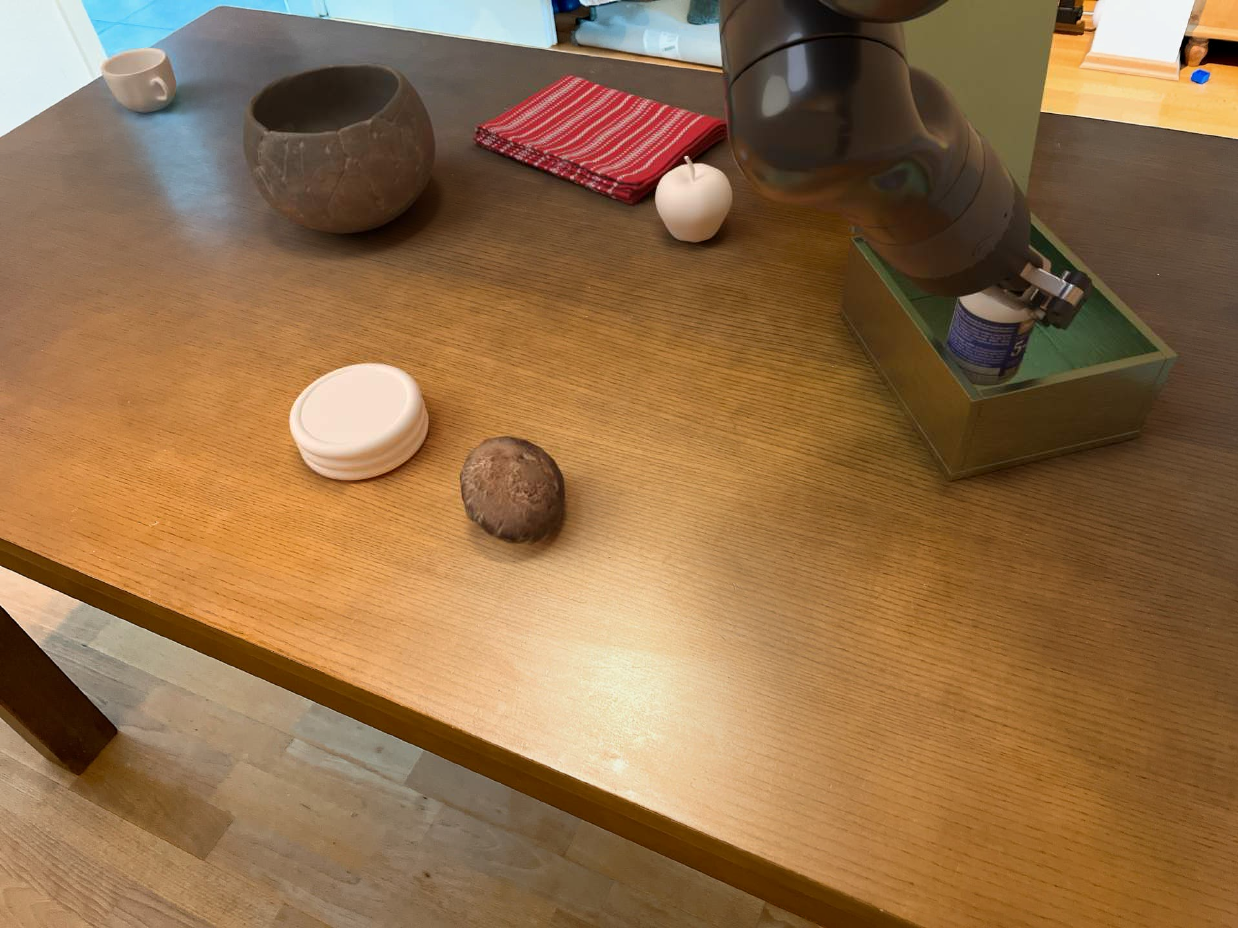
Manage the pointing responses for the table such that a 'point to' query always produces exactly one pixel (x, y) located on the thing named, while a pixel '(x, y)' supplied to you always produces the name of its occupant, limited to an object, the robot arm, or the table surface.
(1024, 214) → the robot arm
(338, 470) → the white round flat piece
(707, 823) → the table surface
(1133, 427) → the open box
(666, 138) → the dish towel
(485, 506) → the mushroom
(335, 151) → the bowl
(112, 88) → the teacup
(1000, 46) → the box lid
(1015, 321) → the pill bottle
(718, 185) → the plain white apple
